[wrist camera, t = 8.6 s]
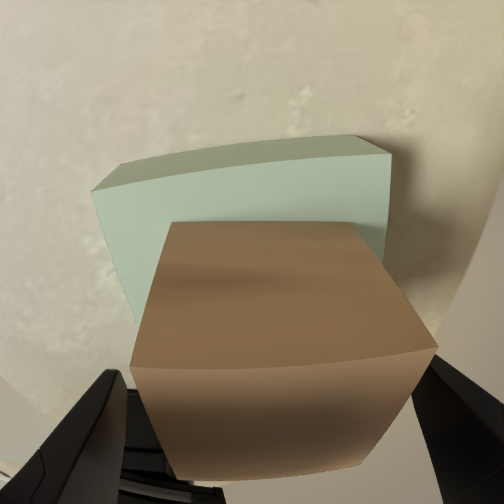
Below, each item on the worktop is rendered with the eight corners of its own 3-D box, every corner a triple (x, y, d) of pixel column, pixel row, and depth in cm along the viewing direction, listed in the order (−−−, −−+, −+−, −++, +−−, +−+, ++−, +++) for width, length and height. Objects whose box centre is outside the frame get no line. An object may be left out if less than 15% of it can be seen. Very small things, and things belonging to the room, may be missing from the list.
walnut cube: (322, 345, 14) (359, 464, 9) (186, 350, 13) (177, 479, 8) (349, 222, 11) (438, 346, 6) (171, 222, 10) (129, 366, 5)
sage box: (343, 309, 18) (366, 358, 15) (172, 332, 18) (165, 387, 14) (349, 133, 13) (391, 153, 10) (123, 161, 13) (90, 191, 9)
